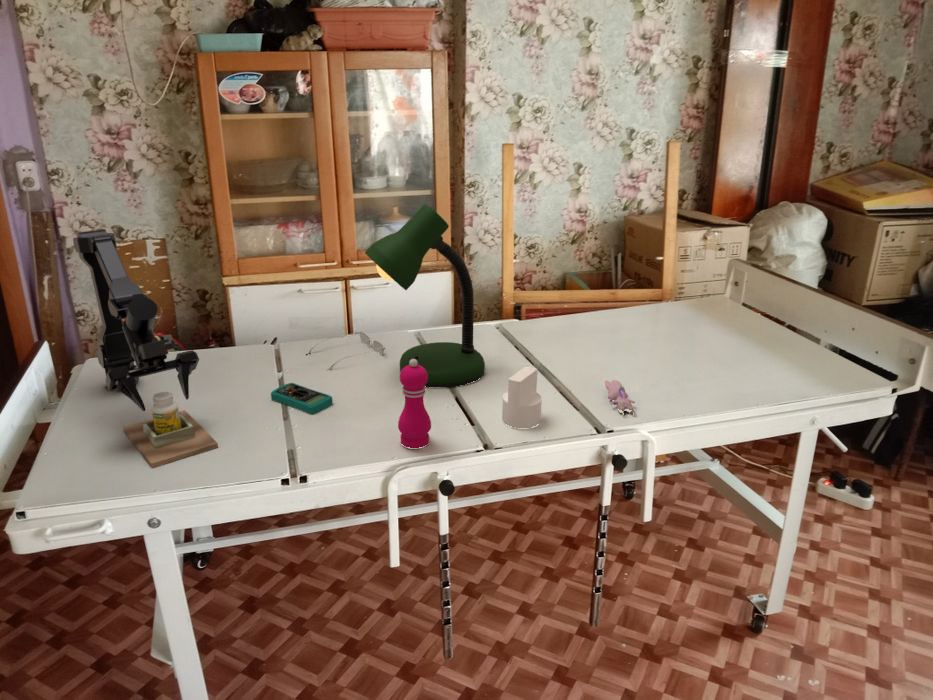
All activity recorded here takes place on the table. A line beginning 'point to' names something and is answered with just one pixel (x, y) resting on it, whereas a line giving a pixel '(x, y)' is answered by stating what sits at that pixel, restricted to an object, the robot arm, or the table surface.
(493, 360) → the table surface
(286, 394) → the digital multimeter
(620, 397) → the rabbit figure
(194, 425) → the bottle holder
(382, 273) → the desk lamp
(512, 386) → the cylinder with rectangular tab
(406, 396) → the pepper mill
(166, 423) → the supplement bottle
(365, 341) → the eyeglasses
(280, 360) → the table surface
